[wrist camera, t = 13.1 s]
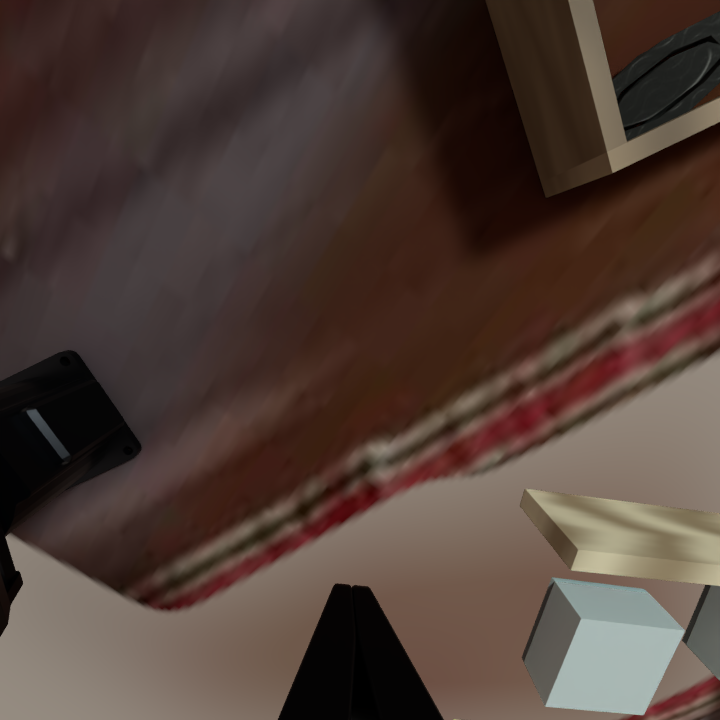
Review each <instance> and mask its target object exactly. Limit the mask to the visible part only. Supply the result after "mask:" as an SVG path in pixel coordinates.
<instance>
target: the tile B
mask: <svg viewBox="0 0 720 720" xmlns="http://www.w3.org/2000/svg"><path fill="white" fill-rule="evenodd" d="M682 641H683V642H684V643H685V644H686V645H687V646H688V648H690V650H691V651H692V652H693V653H694V654H695V655H696V656H697V657H698V658H699V659H700V660H701V661H702V662H703V663H704V664H705V666H706V667H707V668H708V669H709V670H710V671H711V672H712V673H713V674H714V675H715V676H716V677H717V678H718V679H719V680H720V586H715V585H705V587H704V589H703V591H702V594H701V596H700V598H699V601H698V603H697V606H696V608H695V610H694V613H693V615H692V618H691V620H690V622H689V625H688V627H687V629H686V632H685V634H684V636H683V639H682Z"/></svg>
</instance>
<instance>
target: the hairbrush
mask: <svg viewBox="0 0 720 720" xmlns="http://www.w3.org/2000/svg"><path fill="white" fill-rule="evenodd" d="M691 46H694V47H693V48H691V49H689V50H686V51H684V52H681V53H679V54H677V55H675V56H673V57H671V58H669V59H668V60H666V61H664V62H662V63H660V64H658V65H657V66H656V67H655V68H654V69H652V70H651V71H650V72H649V73H647V74H646V75H645V76H644V77H642V78H641V79H640V80H638V81H637V82H636V83H635V84H634V85H633V86H631V87H630V88H629V89H628V90H626V91H625V92H624V93H623V94H622V95H620V93H621V92H622V91H623V90H624V89H625V88H626V87H628V86H629V85H630V84H631V83H633V82H634V81H635V80H637V79H638V78H639V77H640V76H642V75H643V74H644V73H645V72H647V71H648V70H649V69H650V68H652V67H653V66H654V65H656V64H657V63H658V62H659V61H661V60H662V59H664V58H666V57H667V56H669V55H671V54H674V53H676V52H679V51H681V50H683V49H686V48H688V47H691ZM612 82H613V87H614V91H615V95H616V99H617V103H618V107H619V111H620V115H621V120H622V124H623V128H624V130H625V129H628V128H631V127H634V126H635V125H637V124H638V123H640V122H643V121H645V120H648V119H649V120H648V121H647V122H646V123H644V124H643V125H641V126H638V127H635V128H632V129H630V130H627V131H624V132H625V136H626V140H627V141H629V140H631V139H633V138H635V137H637V136H639V135H641V134H643V133H645V132H647V131H649V130H652V129H654V128H656V127H658V126H660V125H662V124H664V123H666V122H668V121H670V120H672V119H675V118H677V117H679V116H681V115H683V114H685V113H687V112H689V111H690V110H691V109H692V108H693V107H694V106H695V105H696V104H697V103H698V102H699V101H700V100H702V99H703V98H704V97H705V96H706V95H707V94H708V93H709V92H710V91H711V90H712V89H713V88H714V87H716V86H717V85H718V84H719V83H720V11H719V12H717V13H716V14H714V15H712V16H710V17H708V18H706V19H704V20H702V21H700V22H698V23H696V24H694V25H692V26H690V27H688V28H686V29H684V30H682V31H680V32H678V33H676V34H674V35H672V36H670V37H669V38H667V39H665V40H663V41H661V42H659V43H658V44H657V45H655V46H654V47H652V48H651V49H649V50H648V51H646V52H644V53H643V54H641V55H639V56H637V57H636V58H635V59H634V60H633V61H632V62H631V63H630V64H629V65H627V66H626V67H625V68H624V69H623V70H622V71H621V72H620V73H619V74H617V75H616V76H615V77H614V78H613V79H612ZM619 95H620V96H619ZM618 96H619V97H618ZM651 117H652V118H651Z"/></svg>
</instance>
